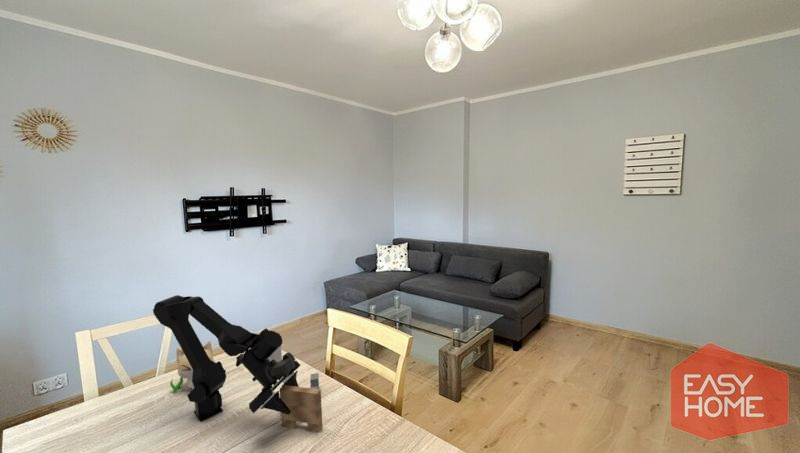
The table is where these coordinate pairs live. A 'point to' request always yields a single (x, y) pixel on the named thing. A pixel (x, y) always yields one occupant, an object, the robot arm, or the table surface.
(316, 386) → the charcoal rail
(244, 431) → the table surface
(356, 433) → the table surface
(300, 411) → the walnut plate
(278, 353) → the can
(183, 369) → the kitten
